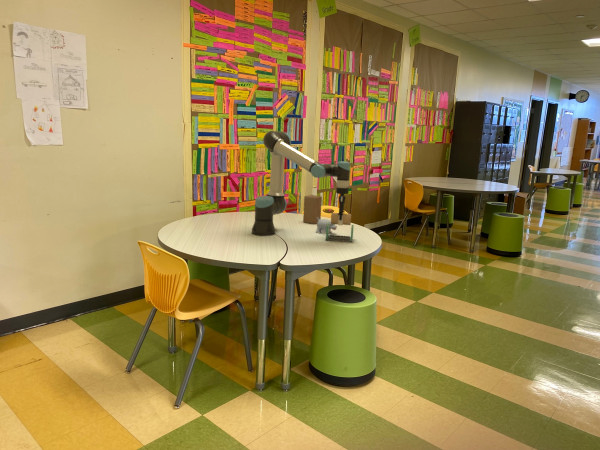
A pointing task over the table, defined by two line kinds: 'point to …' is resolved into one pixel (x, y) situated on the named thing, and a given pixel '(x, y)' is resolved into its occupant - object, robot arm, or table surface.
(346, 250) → the table surface
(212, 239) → the table surface
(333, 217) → the cylinder
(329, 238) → the holder
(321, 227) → the hippopotamus toy
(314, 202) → the wooden block
